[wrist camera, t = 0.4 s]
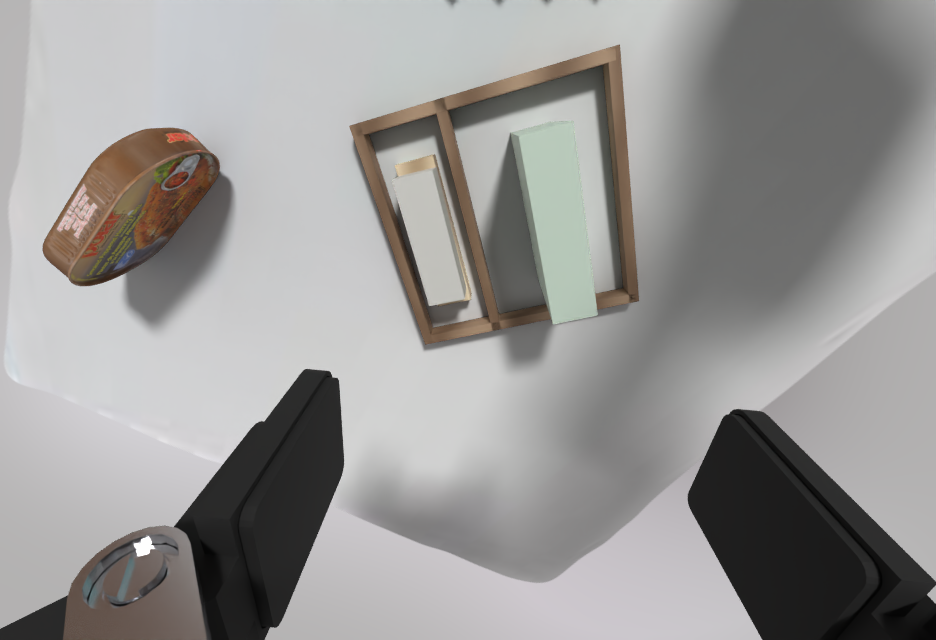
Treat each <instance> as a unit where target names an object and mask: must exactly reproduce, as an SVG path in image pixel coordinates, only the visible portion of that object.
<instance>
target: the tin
mask: <svg viewBox="0 0 936 640" xmlns="http://www.w3.org/2000/svg"><path fill="white" fill-rule="evenodd" d="M219 169H220V164H219V160H218V158H217V157H216V156H215V155H214V154H212V153H210V152H209V151H208V150H207V149H206V148H205V147H204V146H203V145H202V144H201V143H200V142H199V141H198V140H197V139H196V138H195V137H194V136H193V135H192V134H191V133H189V132H188V131H186V130H182V129H178V128H153V129H145V130H141V131H138V132H135V133H133V134H131V135H128V136H126V137H124V138H122V139H121V140H119V141H117V142H116V143H114V144H112V145H111V146H110V147H108V148H107V149H106V150H105V151H104V152H102V153H101V154H100V155H99V156H98V157H97V158H96V159H95V160H94V161H93V163H92V164H91V165H90V167H89V168H88V170H87V171H86V173H85V175H84V176H83V178H82V179H81V181H80V183H79V184H78V186H77V187H76V189H75V191H74V192H73V194H72V195H71V197H70V199H69V200H68V202H67V204H66V205H65V207H64V209H63V210H62V212H61V214H60V215H59V217H58V219H57V220H56V222H55V223H54V225H53V227H52V229H51V230H50V232H49V233H48V235H47V237H46V239H45V241H44V243H43V254H44V256H45V257H46V259H47V260H48V261H49V262H50V263H51V264H52V265H54V266H55V267H56V268H57V269H58V270H60V271H61V272H62V273H63V274H64V275H66V276H67V277H68V278H69V280H70V281H71V283H73V284H75V285H77V286H92V285H96V284H100V283H104V282H107V281H109V280H112V279H114V278H116V277H118V276H121V275H123V274H125V273H127V272H128V271H130V270H132V269H134V268H136V267H137V266H139V265H140V264H142V263H144V262H145V261H147V260H148V259H149V258H151V257H152V256H153V255H155V254H156V253H157V252H158V251H159V250H160V249H161V248H162V247H163V246H164V245H165V244H166V243H167V242H168V241H169V240H170V238H171V237H172V236H173V235H174V233H175V232H176V231H177V229H178V228H179V227H180V225H181V224H182V223H183V222H184V220H185V219H186V218H187V217H188V215H189V214H190V213H191V211H192V210H193V209H194V208H195V206H196V205H197V204H198V203H199V201H200V200H201V199H202V198H203V196H204V195H205V194H206V193H207V191H208V190H209V189H210V187H211V186H212V185H213V183H214V182H215V180H216V178H217V176H218V173H219Z"/></svg>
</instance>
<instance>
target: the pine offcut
mask: <svg viewBox="0 0 936 640" xmlns="http://www.w3.org/2000/svg"><path fill="white" fill-rule="evenodd" d="M434 167H437V171H438V175H439V179H440V183H441V187H442V191H443V195H444V199H445V203H446V207H447V211H448V215H449V219H450V223H451V227H452V232H453V236H454V240H455V244H456V248H457V252H458V256H459V260H460V264H461V268H462V272H463V276H464V280H465V284H466V295H465V299H463V300H458V301H453V302H448V303H443V304H438V306H443V305H448V304H452V303H457V302H462V301H467V300H471V294H472V293H471V289H470V285H469V281H468V278H467V274H466V270H465V266H464V262H463V259H462V255H461V251H460V247H459V243H458V240H457V236H456V232H455V228H454V224H453V221H452V217H451V213H450V209H449V205H448V202H447V198H446V194H445V190H444V186H443V183H442V179H441V175H440V171H439V167H438V164H437V160H436V156H435V154H434V155H430V156H426V157H423V158H419V159H415V160H411V161H408V162H404V163H400V164H397V165H395V168H396V171H397V175H398V176H401V175H406V174H410V173H414V172H418V171H422V170H426V169H430V168H434Z"/></svg>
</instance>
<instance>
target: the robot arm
mask: <svg viewBox="0 0 936 640" xmlns="http://www.w3.org/2000/svg"><path fill="white" fill-rule="evenodd" d="M343 468H344V452H343V436H342V420H341V405H340V389H339V380H338V378H332V375H331V372H329V371H322V370H311V369H305V370H304V371H303V372H302V373H301V374H300V375H299V377H298V378H297V379H296V381H295V382H294V383H293V385H292V386H291V387H290V389H289V390H288V391H287V392H286V394H285V395H284V396H283V398H282V399H281V400H280V402H279V403H278V404H277V406H276V407H275V408H274V410H273V411H272V412H271V414H270V415H269V416H268V418H267V419H266V420H265V421H264V422H262V421H261V422H258V423H256V424H255V425H254V426H253V427H252V428H251V429H250V431H249V432H248V433H247V435H246V436H245V437H244V438H243V440H242V441H241V442H240V443H239V445H238V446H237V447H236V449H235V450H234V451H233V452H232V454H231V455H230V456H229V457H228V459H227V460H226V461H225V463H224V464H223V465H222V466H221V468H220V469H219V470H218V471H217V473H216V474H215V475H214V477H213V478H212V479H211V480H210V482H209V483H208V484H207V485H206V487H205V488H204V489H203V491H202V492H201V493H200V494H199V496H198V497H197V498H196V499H195V501H194V502H193V503H192V505H191V506H190V507H189V508H188V510H187V511H186V512H185V513H184V515H183V516H182V517H181V519H180V520H179V521H178V522H177V524H176V525H175V526H174V527H169V526H156V527H148V528H145V529H142V530H138V531H135V532H132V533H130V534H128V535H126V536H124V537H122V538H120V539H118V540H116V541H114V542H112V543H111V544H110V545H108V546H107V547H106V548H104V549H103V550H101V551H100V552H98V553H97V554H96V555H95V556H94V557H93V558H92V559H91V560H90V561H89V562H88V563H87V564H86V565H85V566H84V567H83V568H82V569H81V571H80V572H79V573H78V575H77V576H76V578H75V579H74V581H73V583H72V584H71V588H70V591H69V594H68V596H66V597H64V598H62V599H60V600H58V601H56V602H54V603H52V604H50V605H47V606H46V607H43V608H41V609H39V610H37V611H35V612H33V613H31V614H29V615H27V616H25V617H23V618H21V619H19V620H17V621H15V622H13V623H11V624H9V625H7V626H5V627H3V628H1V629H0V640H265V637H266V635H267V633H268V630H269V628H270V627H274V628H275V627H277V626H279V624H280V622H281V621H282V618H283V616H284V614H285V612H286V609H287V607H288V604H289V602H290V599H291V597H292V594H293V592H294V590H295V587H296V585H297V583H298V580H299V578H300V575H301V573H302V570H303V568H304V566H305V563H306V561H307V558H308V556H309V554H310V551H311V549H312V546H313V543H314V541H315V539H316V537H317V534H318V532H319V529H320V527H321V525H322V522H323V520H324V517H325V515H326V512H327V510H328V508H329V505H330V503H331V500H332V498H333V495H334V493H335V491H336V488H337V486H338V483H339V481H340V479H341V476H342V472H343ZM688 504H689V507H690V509H691V511H692V513H693V515H694V517H695V519H696V520H697V522H698V524H699V525H700V528H701V529H702V531H703V533H704V534H705V537H706V538H707V540H708V542H709V544H710V546H711V548H712V549H713V551H714V553H715V555H716V557H717V558H718V560H719V562H720V564H721V566H722V567H723V569H724V571H725V573H726V575H727V576H728V578H729V580H730V582H731V584H732V586H733V587H734V589H735V591H736V593H737V595H738V596H739V598H740V600H741V602H742V603H743V605H744V607H745V609H746V611H747V613H748V615H749V616H750V618H751V620H752V622H753V624H754V625H755V627H756V629H757V631H758V633H759V634H760V636H761V638H762V640H936V604H935V603H934V602H933V601H932V600H931V599H930V598H929V597H928V596H927V594H928V593H929V592H930V591H931V589H932V588H933V587H934V586H935V585H936V582H935V580H933V578H931V576H930V575H929V574H927V573H926V572H925V571H924V570H923V569H922V568H921V567H920V566H919V565H918V564H917V563H916V562H915V561H914V560H913V559H912V558H911V557H910V556H909V555H908V554H907V553H906V552H905V551H904V550H903V549H902V548H901V547H900V546H899V545H898V544H897V543H896V542H895V541H894V540H893V539H892V538H891V537H890V536H889V535H888V534H887V533H886V532H885V531H884V530H883V529H882V528H881V527H880V526H879V525H878V524H877V523H876V522H875V521H874V520H873V519H872V518H871V517H870V516H869V515H868V514H867V513H866V512H865V511H864V510H863V509H862V508H861V507H860V506H859V505H858V504H857V503H856V502H855V501H854V500H853V499H852V498H851V497H850V496H849V495H847V493H846V492H845V491H844V490H843V489H842V488H841V487H840V486H839V485H838V484H837V483H836V482H835V481H833V480H832V479H831V478H830V477H829V476H828V475H827V474H826V473H825V472H824V471H823V470H822V469H821V468H820V467H819V466H818V465H817V464H816V463H815V462H814V461H813V460H812V459H811V458H810V457H809V456H808V455H807V454H806V453H805V452H804V451H803V450H802V449H801V448H800V447H799V446H798V445H797V444H796V443H795V442H794V441H793V440H792V439H791V438H790V437H789V436H788V435H787V434H786V433H785V432H784V431H783V430H782V429H781V428H780V427H779V426H778V425H777V424H776V423H775V422H774V421H773V420H772V419H771V418H770V417H769V416H768V415H766V414H765V413H764V412H761V411H752V410H741V409H735V410H733V411H731V412H730V414H729V415H726V416H724V417H723V419H722V421H721V423H720V425H719V427H718V430H717V432H716V434H715V436H714V438H713V440H712V443H711V445H710V447H709V449H708V451H707V453H706V456H705V458H704V460H703V462H702V464H701V466H700V469H699V471H698V473H697V475H696V477H695V480H694V482H693V484H692V486H691V488H690V490H689V493H688Z"/></svg>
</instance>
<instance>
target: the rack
mask: <svg viewBox="0 0 936 640" xmlns="http://www.w3.org/2000/svg"><path fill="white" fill-rule="evenodd" d="M602 65H603V74H604V85H605V96H606V107H607V118H608V128H609V139H610V150H611V161H612V172H613V183H614V194H615V205H616V215H617V226H618V237H619V248H620V259H621V270H622V281H623V288H621V289H616V290H611V291H607V292H602V293H597V294H595V297H596V305H597V309H602V308H607V307H612V306H617V305H622V304H627V303H632V302H637V301H639V295H638V282H637V268H636V255H635V242H634V228H633V215H632V201H631V188H630V174H629V161H628V148H627V134H626V121H625V107H624V94H623V80H622V67H621V54H620V45H616V46H613V47H610V48H606V49H603V50H600V51H596V52H593V53H590V54H587V55H583V56H580V57H577V58H573V59H570V60H567V61H563V62H560V63H557V64H553V65H550V66H547V67H543V68H540V69H537V70H533V71H530V72H527V73H523V74H520V75H517V76H513V77H510V78H507V79H504V80H500V81H497V82H494V83H490V84H487V85H484V86H480V87H477V88H474V89H470V90H467V91H464V92H460V93H457V94H454V95H450V96H447V97H444V98H440V99H437V100H434V101H431V102H427V103H424V104H421V105H417V106H414V107H411V108H407V109H404V110H401V111H397V112H394V113H391V114H387V115H384V116H381V117H377V118H374V119H371V120H367V121H364V122H361V123H358V124H354V125H351V126H349V127H350V130H351V132H352V135H353V138H354V141H355V144H356V147H357V150H358V153H359V155H360V158H361V161H362V164H363V167H364V170H365V173H366V176H367V178H368V181H369V184H370V187H371V190H372V193H373V196H374V199H375V201H376V204H377V207H378V210H379V213H380V216H381V219H382V222H383V224H384V227H385V230H386V233H387V236H388V239H389V242H390V244H391V247H392V250H393V253H394V256H395V259H396V262H397V265H398V267H399V270H400V273H401V276H402V279H403V282H404V285H405V288H406V290H407V293H408V296H409V299H410V302H411V305H412V308H413V311H414V313H415V316H416V319H417V322H418V325H419V328H420V331H421V334H422V336H423V339H424V342H425V345H426V344H430V343H435V342H440V341H445V340H450V339H455V338H460V337H465V336H470V335H475V334H480V333H484V332H489V331H494V330H499V329H504V328H509V327H514V326H519V325H524V324H529V323H534V322H538V321H543V320H548V319H551V317H550V314H549V311H548V308H547V304H545V305H540V306H535V307H530V308H526V309H521V310H516V311H511V312H507V313H502V314H499V312H498V308H497V304H496V300H495V296H494V292H493V288H492V283H491V279H490V275H489V271H488V267H487V263H486V259H485V255H484V251H483V247H482V243H481V239H480V235H479V231H478V227H477V222H476V218H475V214H474V210H473V206H472V202H471V198H470V194H469V190H468V186H467V182H466V178H465V174H464V170H463V165H462V161H461V157H460V153H459V149H458V145H457V141H456V137H455V133H454V129H453V125H452V121H451V117H450V113H449V110H453V109H456V108H460V107H463V106H466V105H470V104H473V103H477V102H480V101H483V100H487V99H490V98H493V97H497V96H500V95H504V94H507V93H510V92H514V91H517V90H521V89H524V88H527V87H531V86H534V85H537V84H541V83H544V82H548V81H551V80H554V79H558V78H561V77H565V76H568V75H571V74H575V73H578V72H581V71H585V70H588V69H592V68H595V67H598V66H602ZM436 114H437V118H438V121H439V125H440V129H441V133H442V137H443V141H444V145H445V149H446V152H447V156H448V160H449V164H450V168H451V172H452V176H453V179H454V183H455V187H456V191H457V195H458V199H459V203H460V207H461V210H462V214H463V218H464V222H465V226H466V230H467V234H468V237H469V241H470V245H471V249H472V253H473V257H474V261H475V264H476V268H477V272H478V276H479V280H480V284H481V288H482V292H483V295H484V299H485V303H486V307H487V311H488V315H489V316H488V317H483V318H478V319H473V320H468V321H464V322H459V323H454V324H449V325H445V326H440V327H435V328H433V326H432V323H431V320H430V317H429V314H428V311H427V308H426V305H425V302H424V299H423V296H422V293H421V290H420V287H419V284H418V281H417V278H416V275H415V272H414V269H413V266H412V263H411V260H410V257H409V254H408V251H407V248H406V245H405V242H404V239H403V236H402V232H401V229H400V226H399V223H398V220H397V217H396V214H395V211H394V208H393V205H392V202H391V199H390V196H389V193H388V190H387V187H386V184H385V181H384V178H383V175H382V172H381V169H380V166H379V163H378V160H377V157H376V154H375V151H374V148H373V145H372V142H371V139H370V136H369V134H372V133H375V132H378V131H382V130H385V129H388V128H392V127H395V126H399V125H402V124H405V123H409V122H412V121H416V120H419V119H422V118H426V117H429V116H433V115H436Z"/></svg>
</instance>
